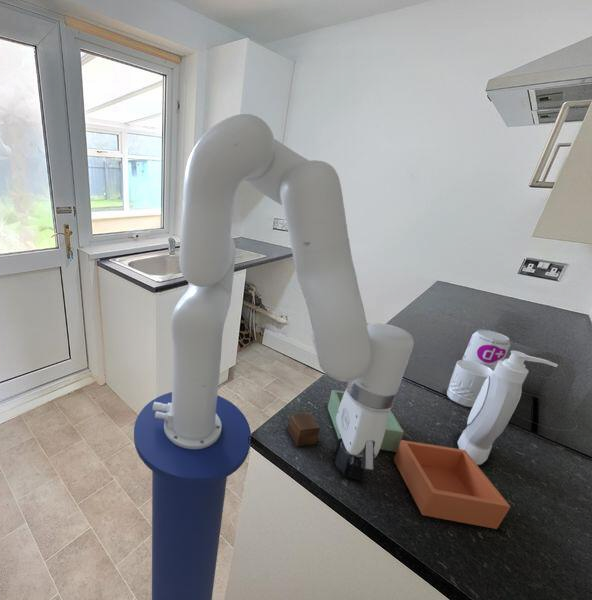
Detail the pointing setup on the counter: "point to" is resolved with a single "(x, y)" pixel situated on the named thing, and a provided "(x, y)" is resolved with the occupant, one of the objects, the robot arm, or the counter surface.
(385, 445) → the left bin
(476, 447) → the soap bottle
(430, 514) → the right bin
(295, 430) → the walnut block
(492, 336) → the supplement can
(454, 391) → the white cup
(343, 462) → the steel cylinder
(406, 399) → the counter surface
